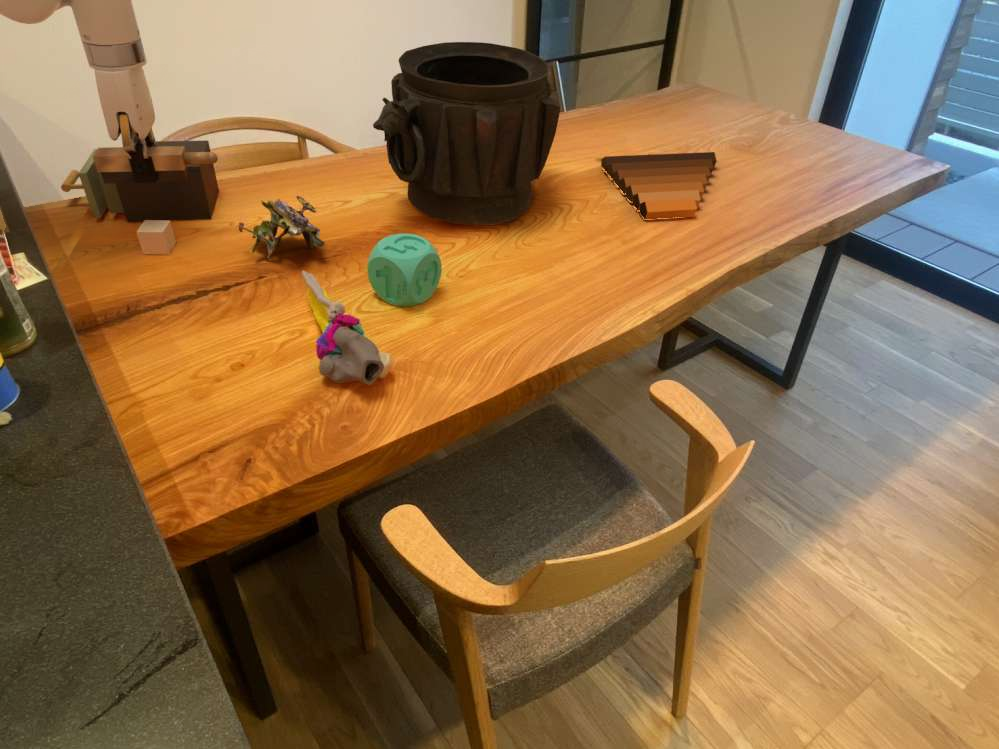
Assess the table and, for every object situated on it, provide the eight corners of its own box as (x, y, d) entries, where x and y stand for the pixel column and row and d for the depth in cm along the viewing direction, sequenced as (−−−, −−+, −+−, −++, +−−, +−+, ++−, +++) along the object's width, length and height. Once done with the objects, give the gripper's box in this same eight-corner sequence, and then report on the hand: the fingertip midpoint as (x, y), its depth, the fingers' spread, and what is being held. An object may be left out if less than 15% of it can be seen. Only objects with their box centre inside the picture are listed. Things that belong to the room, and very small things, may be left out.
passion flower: (313, 275, 118) (343, 235, 109) (257, 288, 110) (284, 246, 102) (282, 221, 119) (308, 177, 111) (223, 230, 111) (247, 183, 103)
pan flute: (706, 164, 152) (600, 168, 147) (710, 148, 150) (602, 153, 145) (765, 215, 133) (645, 222, 128) (770, 198, 131) (648, 205, 126)
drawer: (66, 218, 116) (49, 174, 111) (82, 192, 124) (67, 149, 119) (172, 214, 119) (160, 171, 114) (181, 189, 127) (171, 147, 122)
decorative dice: (368, 295, 104) (364, 248, 99) (401, 273, 110) (399, 227, 105) (410, 313, 101) (409, 265, 96) (442, 289, 107) (442, 243, 101)
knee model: (331, 325, 106) (391, 405, 87) (278, 317, 101) (330, 400, 83) (347, 269, 103) (413, 341, 84) (294, 258, 98) (352, 331, 80)
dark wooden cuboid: (127, 222, 118) (110, 168, 112) (141, 193, 126) (125, 141, 120) (211, 219, 120) (199, 166, 114) (219, 191, 129) (208, 140, 123)
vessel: (366, 228, 120) (355, 79, 105) (413, 159, 145) (409, 30, 129) (540, 250, 118) (555, 100, 102) (557, 176, 142) (572, 46, 127)
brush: (101, 184, 107) (92, 156, 104) (107, 175, 110) (98, 147, 107) (220, 181, 110) (214, 154, 108) (222, 172, 113) (217, 145, 110)
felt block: (136, 231, 107) (144, 219, 111) (143, 254, 110) (151, 242, 113) (162, 232, 108) (170, 220, 111) (169, 254, 110) (176, 242, 113)
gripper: (100, 37, 104) (134, 156, 115) (70, 70, 91) (111, 199, 103) (154, 37, 105) (182, 155, 116) (131, 70, 92) (165, 198, 104)
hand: (149, 175), depth 109 cm, fingers closed on brush, 3 cm apart
